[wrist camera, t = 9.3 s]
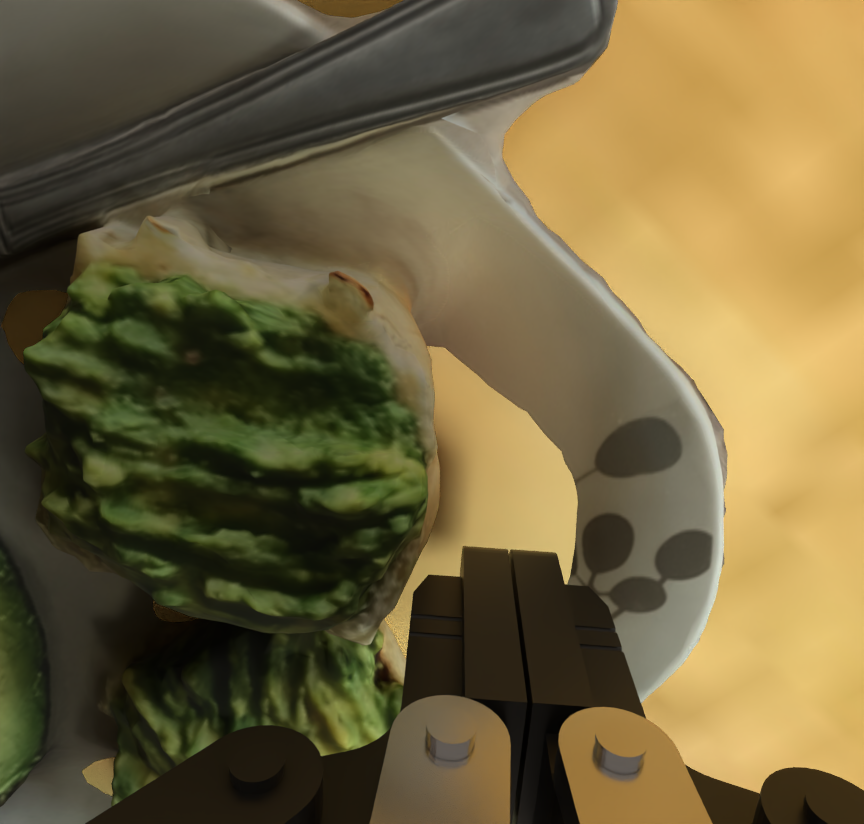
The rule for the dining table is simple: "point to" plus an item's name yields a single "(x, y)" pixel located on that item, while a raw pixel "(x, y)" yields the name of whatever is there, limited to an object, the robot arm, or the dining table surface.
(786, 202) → the dining table surface
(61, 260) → the salad plate
